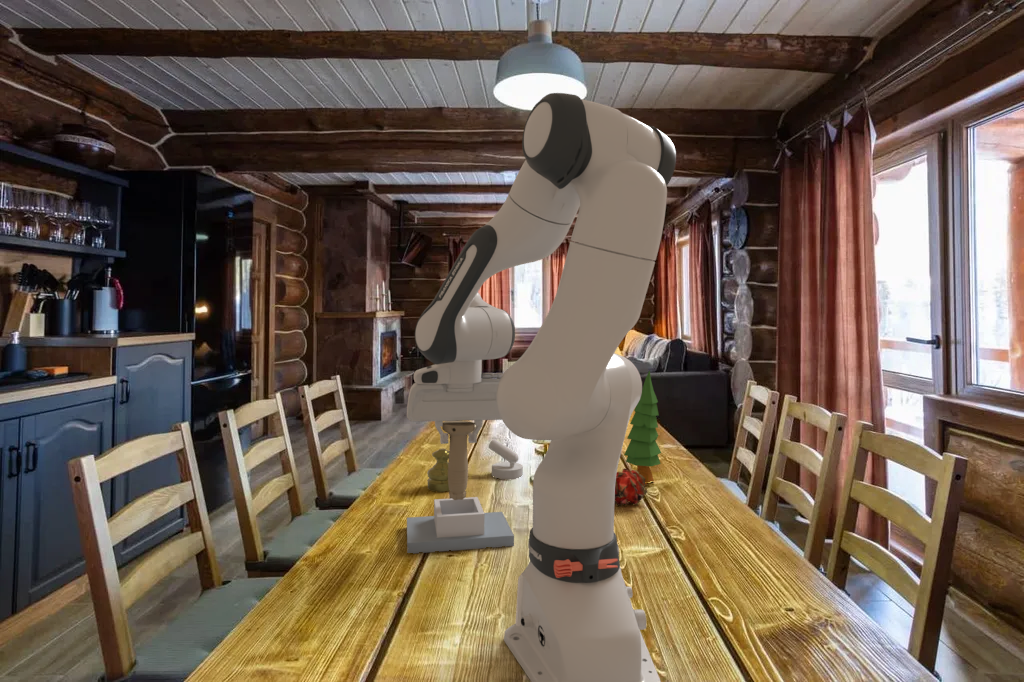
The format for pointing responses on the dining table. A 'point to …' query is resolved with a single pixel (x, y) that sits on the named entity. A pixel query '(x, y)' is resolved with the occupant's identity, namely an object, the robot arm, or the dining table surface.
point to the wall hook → (505, 468)
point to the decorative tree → (644, 433)
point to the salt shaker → (439, 472)
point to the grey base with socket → (458, 528)
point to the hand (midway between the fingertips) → (458, 442)
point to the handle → (458, 457)
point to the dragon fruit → (629, 487)
